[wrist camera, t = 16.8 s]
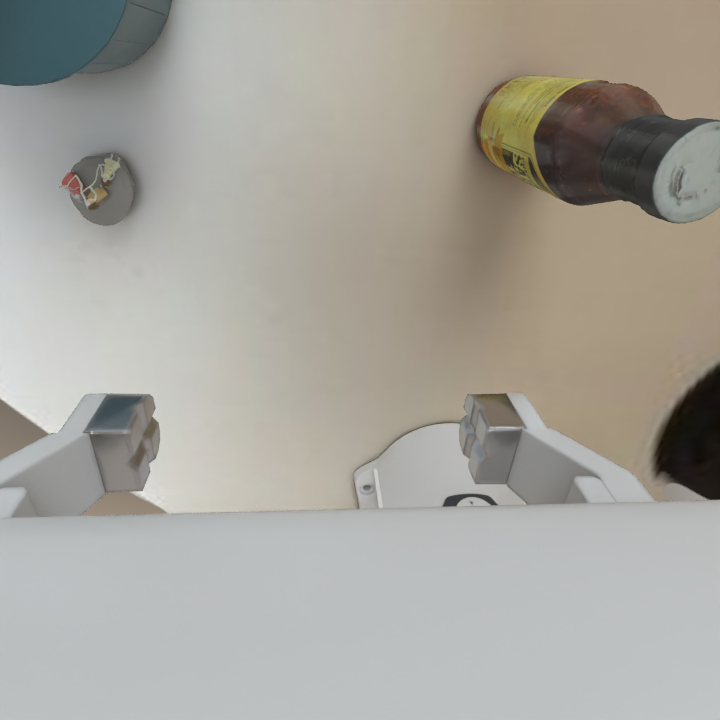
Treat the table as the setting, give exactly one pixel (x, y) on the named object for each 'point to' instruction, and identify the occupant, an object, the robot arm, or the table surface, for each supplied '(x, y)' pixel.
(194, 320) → the table surface
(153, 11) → the pot
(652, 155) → the sauce bottle
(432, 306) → the table surface
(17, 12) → the pot lid
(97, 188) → the figurine
